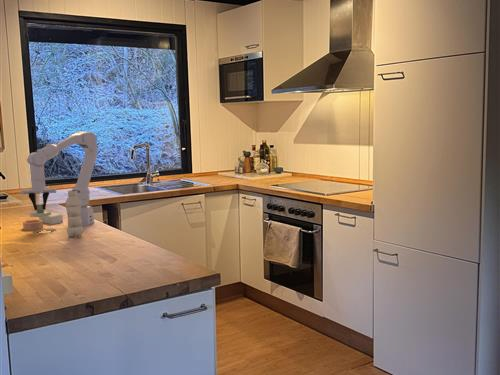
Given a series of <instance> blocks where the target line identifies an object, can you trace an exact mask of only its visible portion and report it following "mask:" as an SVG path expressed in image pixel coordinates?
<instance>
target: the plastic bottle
mask: <svg viewBox="0 0 500 375" xmlns="http://www.w3.org/2000/svg"><path fill="white" fill-rule="evenodd" d="M67 196H69V197H67V199H66V200H65V204H64V205H65V209H66V214H67V229H66V230H67V231H66V234H67V236H68V237H69V238H75V237H76V238H79V236H80V237H81V236H83V234H84V228H83V225H82V224H81V216H80V215H81V201H80V199H79V198H78V197H77V190H72V189H71V190H68V191H67Z"/></svg>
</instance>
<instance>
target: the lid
mask: <svg viewBox="0 0 500 375" xmlns="http://www.w3.org/2000/svg"><path fill="white" fill-rule="evenodd" d="M36 209H37V210H35V211H31V212H29V217H30V218H39V217H43V216H49V215H51V212H52V211H51V210H43V203H36Z"/></svg>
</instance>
